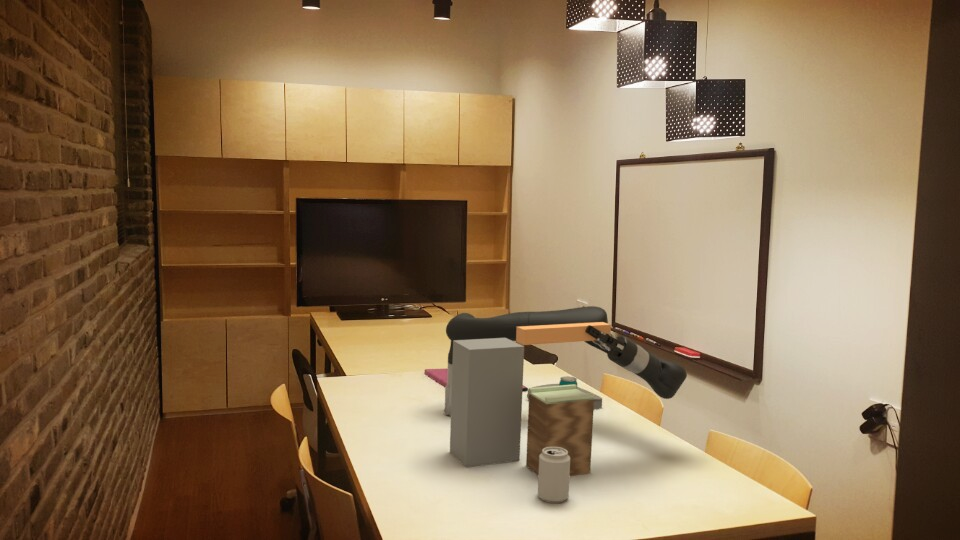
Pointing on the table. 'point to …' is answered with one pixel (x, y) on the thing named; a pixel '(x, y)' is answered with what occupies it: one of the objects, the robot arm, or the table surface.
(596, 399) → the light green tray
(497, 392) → the grey stand
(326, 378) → the table surface
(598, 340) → the robot arm
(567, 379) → the beverage can
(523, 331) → the orange wooden bar
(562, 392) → the green tray
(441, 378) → the thin magenta plate
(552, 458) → the can
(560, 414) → the walnut pedestal
